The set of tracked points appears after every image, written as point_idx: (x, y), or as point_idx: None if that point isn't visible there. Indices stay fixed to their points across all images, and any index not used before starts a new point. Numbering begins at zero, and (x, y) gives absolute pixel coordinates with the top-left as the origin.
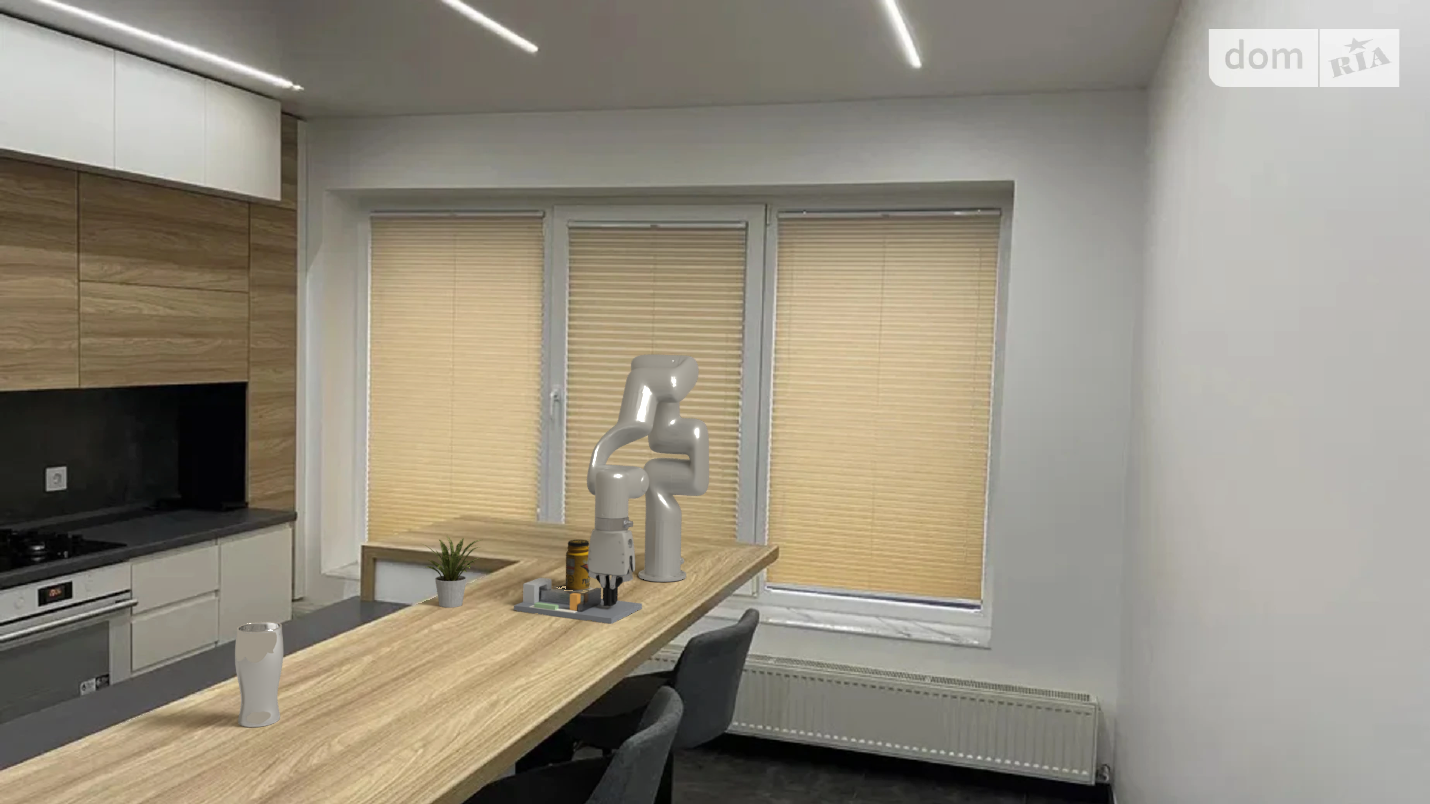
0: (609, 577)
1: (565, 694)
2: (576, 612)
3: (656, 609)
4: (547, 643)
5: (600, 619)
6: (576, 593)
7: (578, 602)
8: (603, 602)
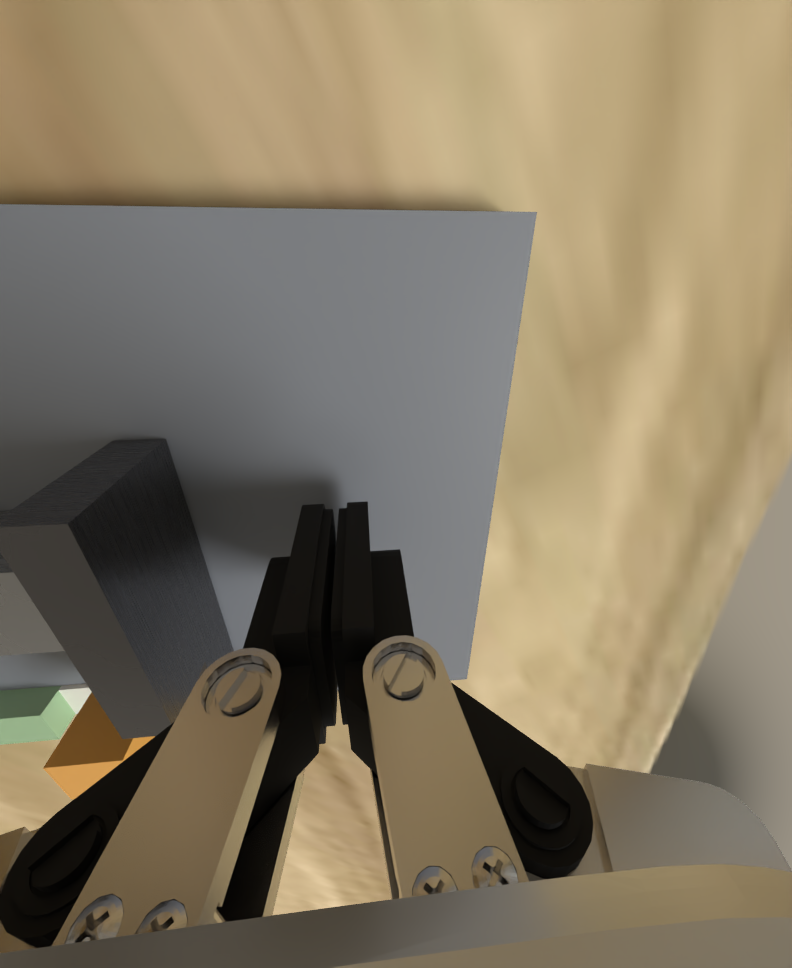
0: (245, 815)
1: None
2: None
3: (663, 162)
4: (369, 846)
5: None
6: (85, 769)
7: None
8: (147, 380)
